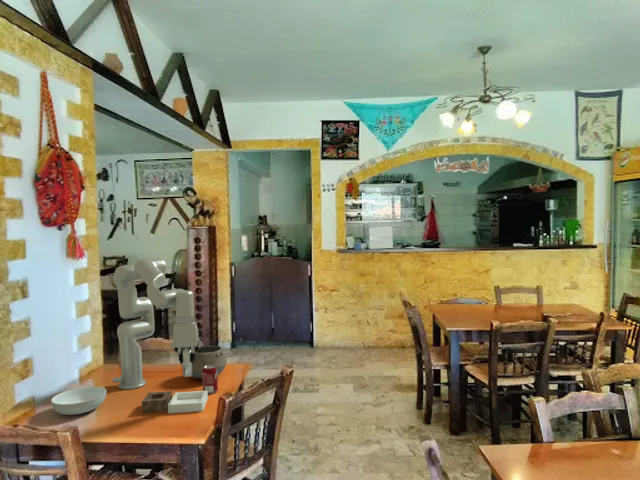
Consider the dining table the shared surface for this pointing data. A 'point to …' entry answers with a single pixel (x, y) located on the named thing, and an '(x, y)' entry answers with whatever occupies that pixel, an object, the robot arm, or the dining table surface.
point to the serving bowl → (78, 400)
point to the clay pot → (208, 359)
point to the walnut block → (156, 402)
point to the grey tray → (188, 402)
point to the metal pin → (187, 361)
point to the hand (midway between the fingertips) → (187, 361)
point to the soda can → (210, 378)
